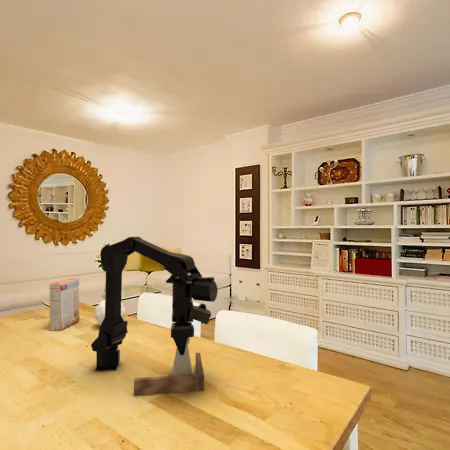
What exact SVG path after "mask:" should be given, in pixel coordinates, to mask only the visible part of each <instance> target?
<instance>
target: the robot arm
mask: <svg viewBox="0 0 450 450" xmlns="http://www.w3.org/2000/svg"><path fill="white" fill-rule="evenodd" d="M134 253H137V254H139V255H142V256H144V257H146V258H147V259H150V260H151V261H153V262H156V263H158V264H160V265H161V266H162V267H163V268H164V269H165V271H167V273H169V274H171V275H170V276H169V277H168V279H166V280H165V283H166V284H172V287H171V288H172V290H171V291H172V294H171V295H172V298H171V299H172V300H171V301H172V305H171V307H172V312H171V322H172V323H171V326H170V338H171V339H172V340H173V343H174V344H175V346H176V349H178V351H179V353H180V355H184V353H185V348H186V344H187V339H188V338H189V337H190V338H193V337H195V327H194V325H193V322H194V321H197V322H199V323H203V324H204V325H209V323H210V319H211V316H212V312H211V310H209V309H207V305H206V304H205V303H199V304H198V305H194V303H193V302H194V301H198V302H199V301H201V302H212V303H214V302H215V301H216V299H217V296H218V292H219V291H218V290H219V289H218V288H219V287H218V286H217V283H216V282H215V281H216V280H215V277H214V276H209V277H207V276H206V277H203V275H202V273H201V272H200V270H199V269H198V268H197V266H196V263H195V261H194V258H193V257H192V256H190V255H187V254H184V253H177V252H172V251H169V250H167V249H165V248H162V247H160V246H158V245H155V244H154V243H152V242H150V241H147V240H145V239H143V238H142V237H140V236H129V237H127V238H125V239H123V240H120V241H119V242H115V243H112V244H108V245H105V246H103V247H102V248H101V250H100V264H101V266H102V268H103V271H105V295H104V300H105V317H104V319H103V321H102V323H101V325H99V329H98V336H97V337H96V339H94V341H92V343H91V344H90V345H91V350H92V352H95V353H96V356H95V357H96V360H95V361H96V365H95V366H96V367H95V368H94V371H95V372H99V371H114V370H117V368H118V366H119V365H120V363H121V350H120V349H119V345H122V344H123V341H124V339H125V338H126V336H127V334H128V332H129V331H128V320H124V319H123V318H122V317H121V302H122V290H123V289H122V286H123V285H122V284H123V281H122V280H123V271H124V270H125V267H126V266H127V263H128V258H129V256H130V255H132V254H134ZM192 299H193V300H194V301H193V300H192Z"/></svg>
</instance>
